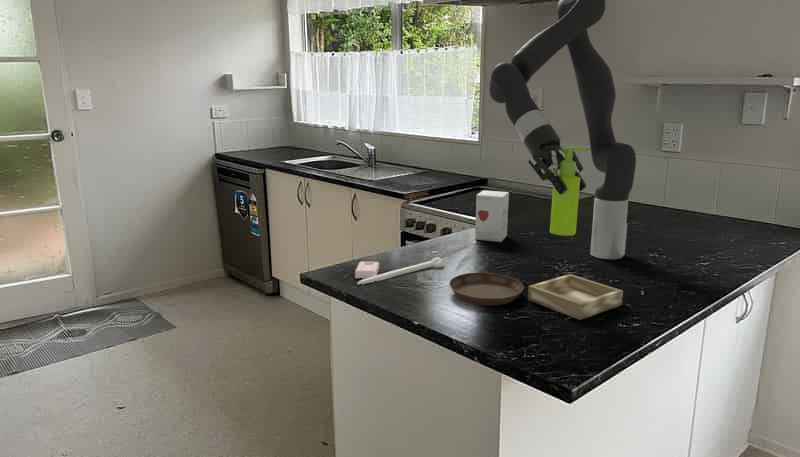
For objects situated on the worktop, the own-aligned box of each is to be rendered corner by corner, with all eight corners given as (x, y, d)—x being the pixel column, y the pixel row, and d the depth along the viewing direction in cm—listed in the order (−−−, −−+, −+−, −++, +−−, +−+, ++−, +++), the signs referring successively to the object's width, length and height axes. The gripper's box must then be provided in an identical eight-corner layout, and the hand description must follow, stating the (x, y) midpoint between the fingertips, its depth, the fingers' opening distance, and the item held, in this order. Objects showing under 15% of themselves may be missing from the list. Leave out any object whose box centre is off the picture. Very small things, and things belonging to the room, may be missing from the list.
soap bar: (355, 279, 157) (354, 270, 156) (360, 269, 165) (359, 260, 165) (375, 280, 156) (375, 271, 156) (379, 269, 165) (379, 261, 164)
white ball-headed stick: (364, 289, 149) (364, 278, 149) (355, 285, 152) (355, 274, 152) (446, 268, 166) (447, 258, 166) (437, 264, 169) (437, 255, 169)
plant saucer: (536, 304, 139) (537, 292, 138) (465, 313, 134) (466, 300, 133) (502, 280, 155) (503, 269, 154) (438, 287, 150) (438, 276, 150)
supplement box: (474, 239, 194) (475, 194, 190) (481, 233, 202) (482, 189, 199) (501, 242, 191) (503, 196, 187) (507, 235, 199) (509, 191, 195)
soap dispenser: (581, 236, 136) (588, 148, 131) (549, 234, 137) (556, 147, 132) (579, 230, 141) (586, 146, 137) (549, 228, 143) (555, 144, 138)
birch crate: (569, 287, 149) (569, 274, 149) (621, 304, 138) (623, 290, 137) (527, 300, 141) (528, 285, 140) (580, 320, 129) (581, 304, 128)
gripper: (524, 124, 135) (562, 184, 129) (566, 121, 143) (604, 177, 136) (506, 146, 141) (542, 204, 134) (548, 142, 149) (583, 196, 142)
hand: (573, 190), depth 135 cm, fingers closed on soap dispenser, 6 cm apart
